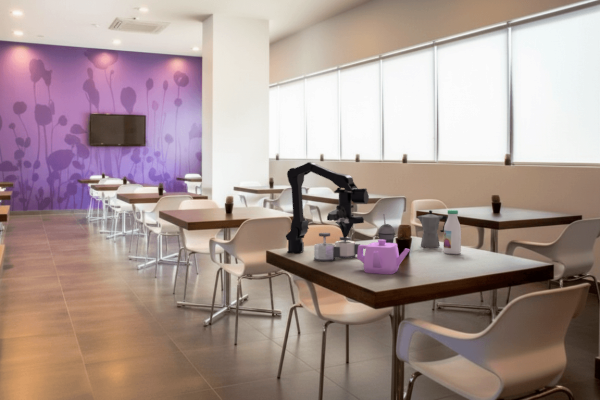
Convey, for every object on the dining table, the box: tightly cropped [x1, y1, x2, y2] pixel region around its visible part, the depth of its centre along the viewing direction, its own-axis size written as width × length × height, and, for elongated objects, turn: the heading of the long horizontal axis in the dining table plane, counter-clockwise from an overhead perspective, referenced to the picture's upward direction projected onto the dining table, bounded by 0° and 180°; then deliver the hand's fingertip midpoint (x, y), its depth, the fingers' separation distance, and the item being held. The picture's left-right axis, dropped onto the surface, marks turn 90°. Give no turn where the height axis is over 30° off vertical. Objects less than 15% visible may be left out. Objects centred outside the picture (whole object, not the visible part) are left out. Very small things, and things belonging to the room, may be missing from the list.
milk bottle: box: [443, 209, 462, 255], centre depth 264 cm, size 8×8×20 cm
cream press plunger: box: [339, 236, 352, 243], centre depth 258 cm, size 5×5×6 cm
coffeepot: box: [416, 210, 448, 249], centre depth 283 cm, size 15×9×18 cm, turn 70°
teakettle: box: [356, 239, 411, 275], centre depth 226 cm, size 17×17×12 cm
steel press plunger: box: [318, 232, 331, 245], centre depth 250 cm, size 5×5×6 cm
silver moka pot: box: [313, 242, 341, 262], centre depth 250 cm, size 12×9×6 cm
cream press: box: [334, 240, 361, 259], centre depth 257 cm, size 12×9×6 cm
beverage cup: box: [377, 213, 396, 243], centre depth 249 cm, size 7×7×20 cm
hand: (345, 237), depth 257 cm, fingers closed, pressing on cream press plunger
